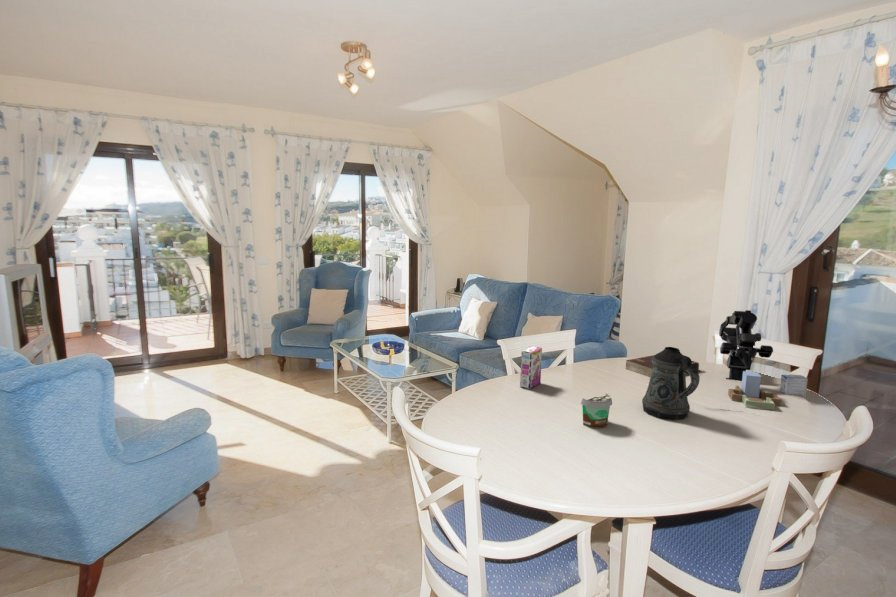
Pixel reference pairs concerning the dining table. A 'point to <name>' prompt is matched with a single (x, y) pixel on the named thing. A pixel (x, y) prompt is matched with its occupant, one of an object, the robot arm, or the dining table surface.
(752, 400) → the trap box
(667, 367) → the beer stein
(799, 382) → the medicine box
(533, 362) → the candy bar box
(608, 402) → the food container
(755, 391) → the block
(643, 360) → the hardback book
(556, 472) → the dining table surface
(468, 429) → the dining table surface
